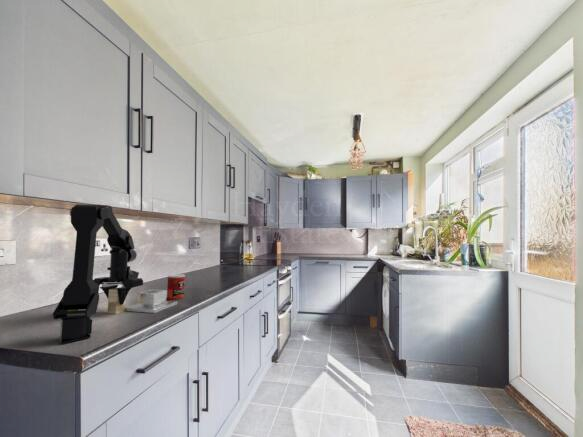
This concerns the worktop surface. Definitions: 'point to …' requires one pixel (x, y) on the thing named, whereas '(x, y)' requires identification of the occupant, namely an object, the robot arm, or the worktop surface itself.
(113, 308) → the rail end
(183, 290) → the canned food
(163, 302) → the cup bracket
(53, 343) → the worktop surface
